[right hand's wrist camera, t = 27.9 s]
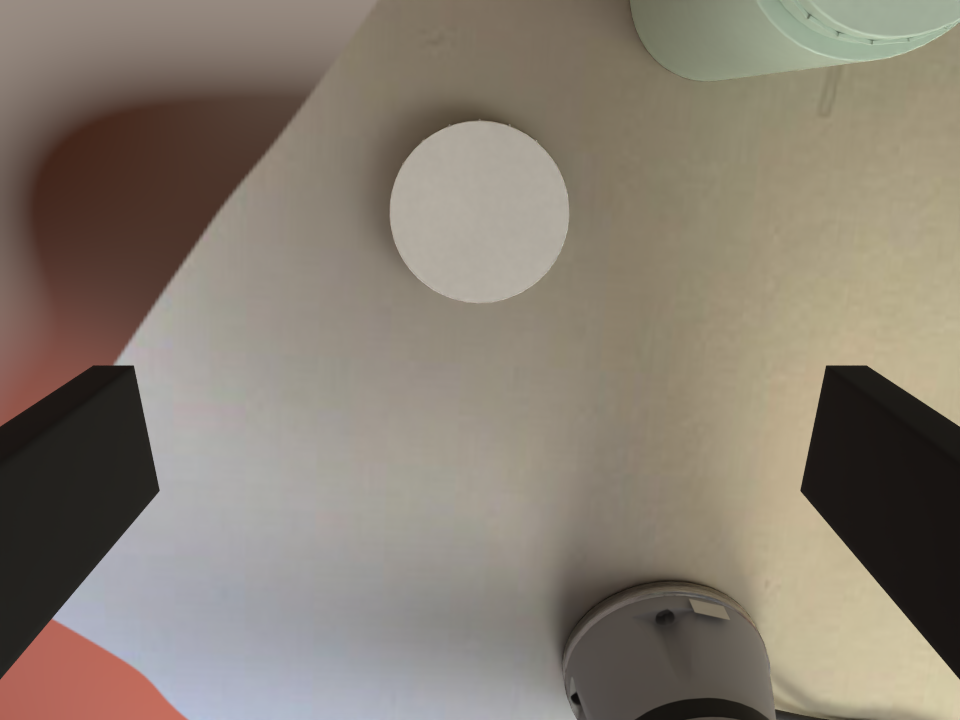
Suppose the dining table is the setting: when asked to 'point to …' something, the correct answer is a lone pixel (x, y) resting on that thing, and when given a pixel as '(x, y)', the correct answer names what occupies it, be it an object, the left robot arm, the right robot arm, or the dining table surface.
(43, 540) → the right robot arm
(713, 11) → the jar
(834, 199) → the dining table surface
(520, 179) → the lid
